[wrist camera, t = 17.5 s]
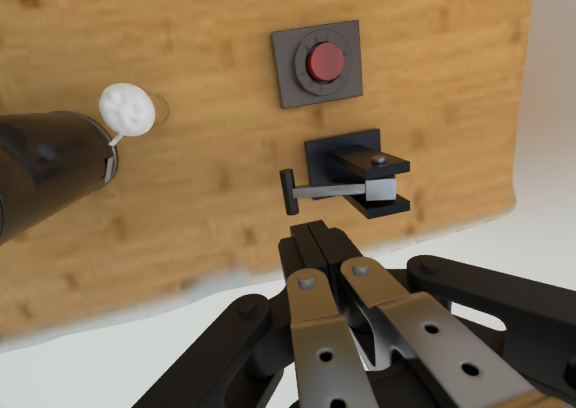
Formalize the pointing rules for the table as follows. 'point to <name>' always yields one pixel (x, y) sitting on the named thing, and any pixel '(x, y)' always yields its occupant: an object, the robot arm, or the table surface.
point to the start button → (325, 62)
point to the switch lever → (335, 189)
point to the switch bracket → (355, 168)
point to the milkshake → (131, 110)
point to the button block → (294, 63)
